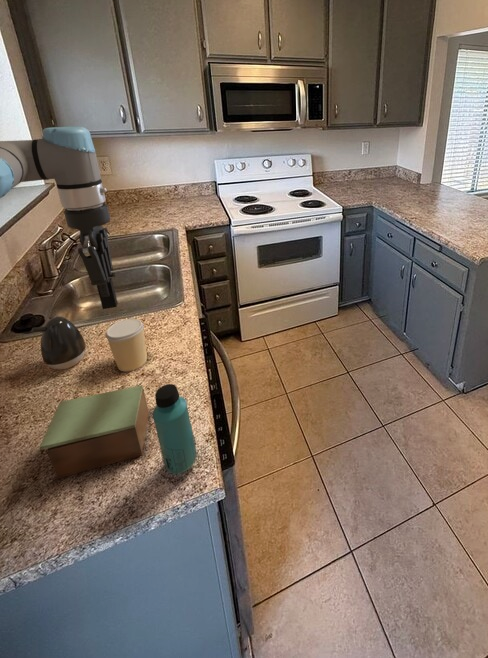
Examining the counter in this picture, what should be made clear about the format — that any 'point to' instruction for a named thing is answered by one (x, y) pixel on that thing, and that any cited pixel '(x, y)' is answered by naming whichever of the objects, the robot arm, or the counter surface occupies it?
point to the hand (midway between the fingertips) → (110, 306)
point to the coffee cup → (127, 344)
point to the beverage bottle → (174, 430)
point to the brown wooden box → (101, 448)
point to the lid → (93, 416)
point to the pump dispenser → (61, 343)
